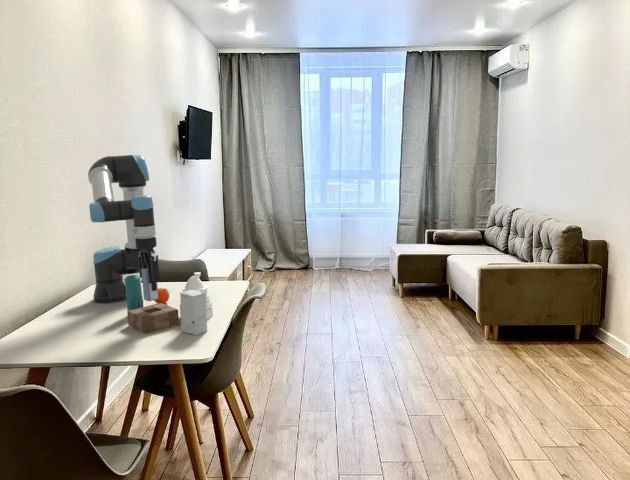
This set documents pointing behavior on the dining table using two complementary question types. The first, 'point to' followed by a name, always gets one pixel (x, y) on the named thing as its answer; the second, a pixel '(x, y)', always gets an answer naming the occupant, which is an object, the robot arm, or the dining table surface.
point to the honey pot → (197, 285)
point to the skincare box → (193, 312)
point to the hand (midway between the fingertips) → (151, 297)
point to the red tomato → (162, 296)
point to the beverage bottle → (133, 290)
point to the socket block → (153, 318)
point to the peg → (146, 284)
